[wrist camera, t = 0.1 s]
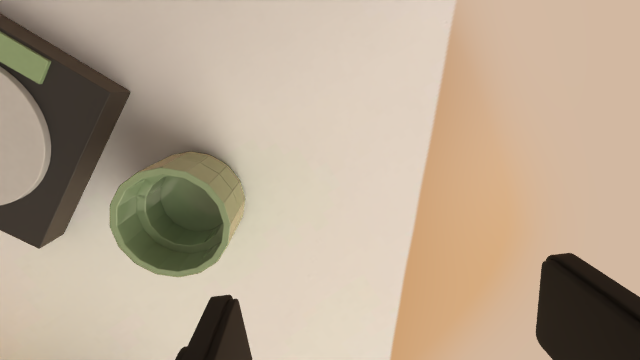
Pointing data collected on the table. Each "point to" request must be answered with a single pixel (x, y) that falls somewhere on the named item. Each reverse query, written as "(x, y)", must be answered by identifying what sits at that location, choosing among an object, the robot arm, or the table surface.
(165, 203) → the green cup
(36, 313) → the table surface
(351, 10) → the table surface
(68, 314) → the table surface
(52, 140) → the scale
